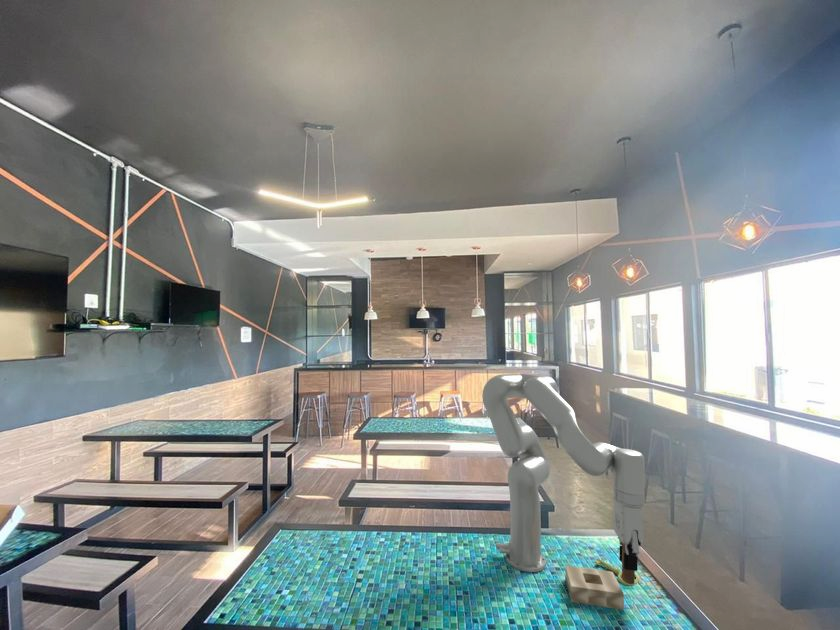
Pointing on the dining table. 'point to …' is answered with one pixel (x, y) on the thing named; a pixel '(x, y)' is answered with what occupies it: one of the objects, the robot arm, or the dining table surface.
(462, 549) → the dining table surface
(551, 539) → the dining table surface
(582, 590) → the maple hole block
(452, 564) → the dining table surface
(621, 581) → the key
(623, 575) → the walnut peg
